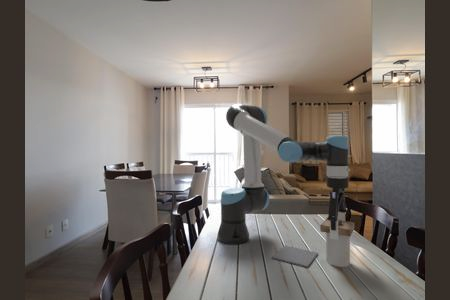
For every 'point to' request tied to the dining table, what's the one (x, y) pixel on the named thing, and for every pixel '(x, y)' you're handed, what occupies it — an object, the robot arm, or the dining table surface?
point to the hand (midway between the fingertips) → (337, 233)
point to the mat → (295, 256)
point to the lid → (343, 227)
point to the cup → (338, 250)
